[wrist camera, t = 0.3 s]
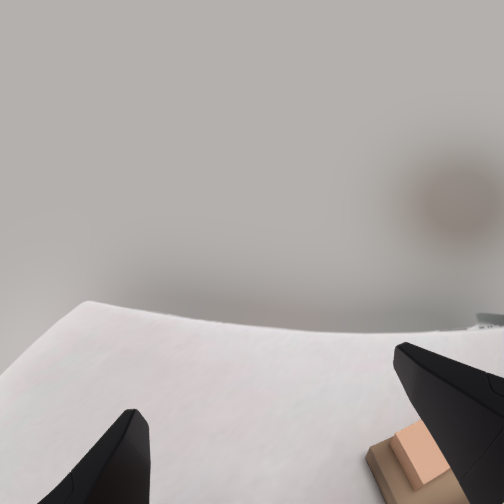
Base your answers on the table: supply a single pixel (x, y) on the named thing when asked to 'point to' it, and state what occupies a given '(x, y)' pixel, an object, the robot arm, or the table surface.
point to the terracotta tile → (419, 455)
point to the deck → (400, 489)
